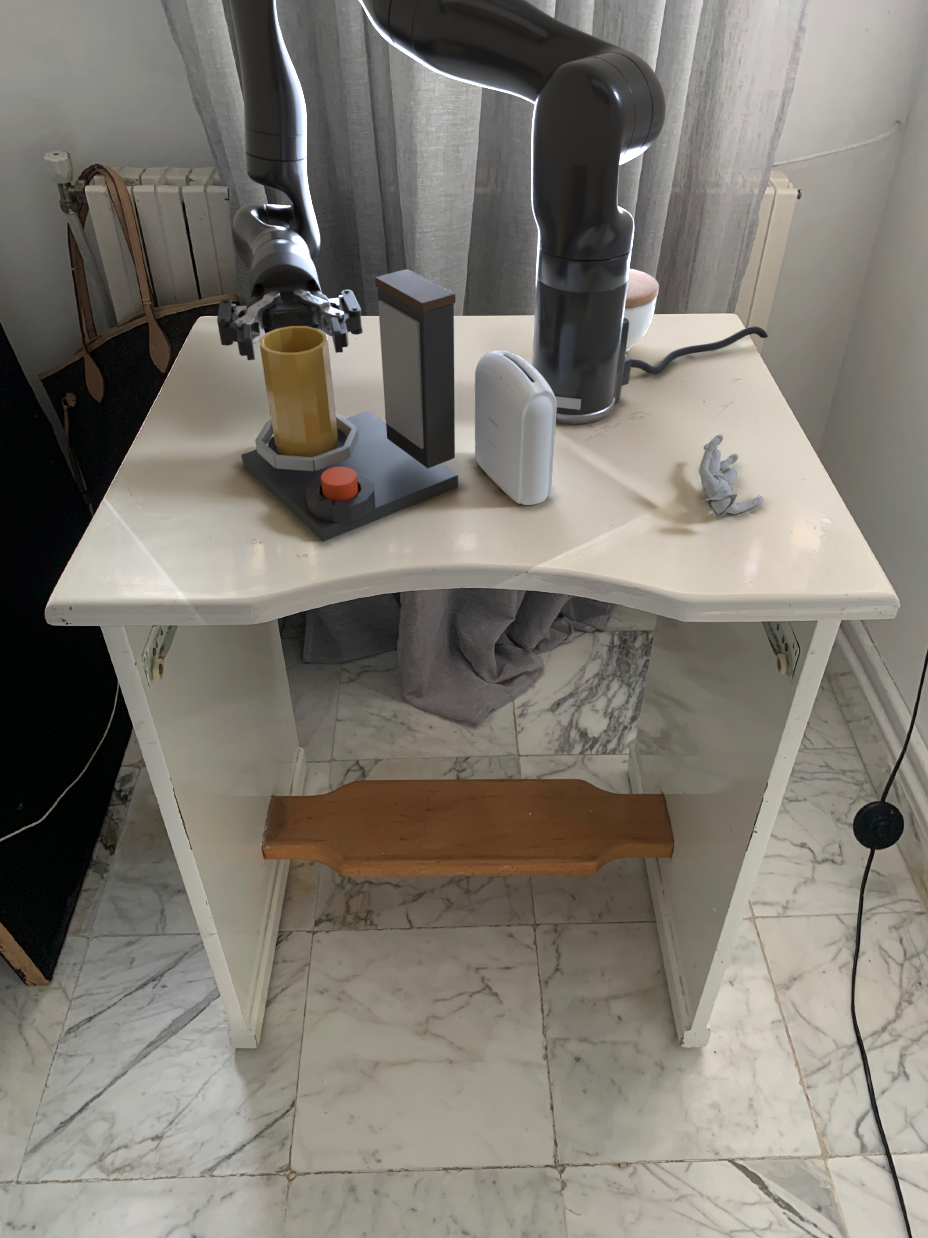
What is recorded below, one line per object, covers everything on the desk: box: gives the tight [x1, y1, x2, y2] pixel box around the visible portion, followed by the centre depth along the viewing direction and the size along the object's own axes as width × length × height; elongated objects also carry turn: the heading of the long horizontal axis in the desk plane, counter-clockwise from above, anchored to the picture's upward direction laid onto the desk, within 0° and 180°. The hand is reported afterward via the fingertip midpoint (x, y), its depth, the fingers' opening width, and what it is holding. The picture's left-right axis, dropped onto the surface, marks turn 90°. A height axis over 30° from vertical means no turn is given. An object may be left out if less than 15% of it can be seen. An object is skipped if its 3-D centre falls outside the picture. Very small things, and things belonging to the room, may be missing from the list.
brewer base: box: [240, 410, 459, 542], centre depth 88 cm, size 15×16×3 cm
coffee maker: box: [254, 268, 456, 471], centre depth 82 cm, size 15×15×16 cm
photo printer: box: [474, 349, 557, 506], centre depth 84 cm, size 10×4×12 cm, turn 26°
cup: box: [258, 326, 338, 457], centre depth 84 cm, size 6×6×10 cm
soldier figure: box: [698, 434, 764, 521], centre depth 85 cm, size 8×5×12 cm
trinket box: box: [624, 268, 660, 353], centre depth 109 cm, size 11×11×9 cm
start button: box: [321, 467, 358, 501], centre depth 81 cm, size 3×3×2 cm
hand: (294, 347), depth 87 cm, fingers open, 8 cm apart
